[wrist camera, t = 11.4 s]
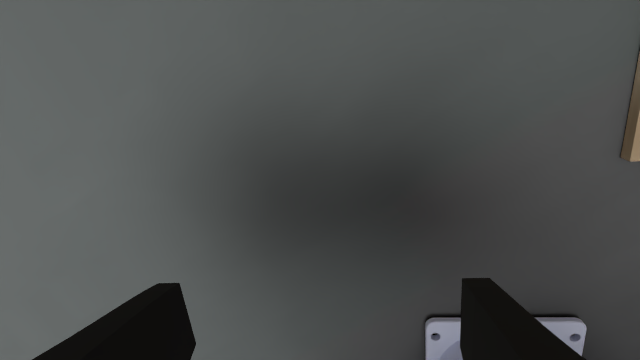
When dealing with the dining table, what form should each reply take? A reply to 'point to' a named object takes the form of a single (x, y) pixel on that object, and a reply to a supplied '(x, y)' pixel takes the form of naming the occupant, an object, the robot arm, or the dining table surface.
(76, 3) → the dining table surface
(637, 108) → the beige flat square sheet
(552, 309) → the dining table surface
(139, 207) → the dining table surface
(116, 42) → the dining table surface
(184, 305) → the robot arm
